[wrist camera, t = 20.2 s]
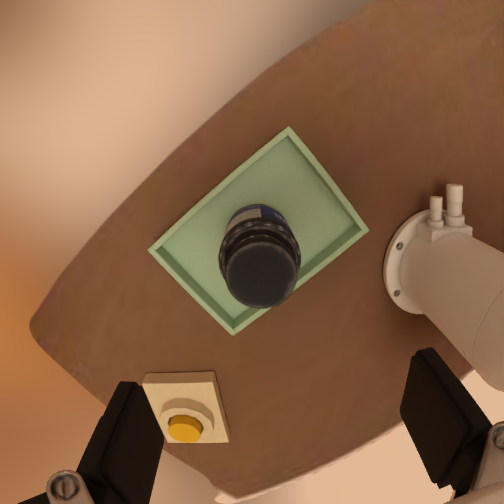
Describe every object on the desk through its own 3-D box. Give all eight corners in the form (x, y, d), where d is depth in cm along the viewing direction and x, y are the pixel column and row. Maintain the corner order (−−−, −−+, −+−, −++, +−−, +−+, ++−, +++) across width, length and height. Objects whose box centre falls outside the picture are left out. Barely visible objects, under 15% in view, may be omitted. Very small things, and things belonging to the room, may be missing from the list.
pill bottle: (299, 247, 31) (323, 296, 21) (243, 273, 32) (241, 333, 21) (271, 191, 29) (284, 213, 19) (214, 220, 30) (195, 257, 20)
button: (166, 413, 35) (164, 423, 33) (197, 413, 35) (196, 423, 33) (175, 433, 36) (173, 442, 34) (204, 433, 36) (203, 443, 34)
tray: (233, 322, 35) (232, 336, 32) (155, 242, 32) (147, 250, 29) (360, 223, 31) (369, 230, 29) (285, 128, 28) (289, 125, 26)
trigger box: (146, 372, 37) (137, 393, 33) (214, 370, 37) (211, 392, 33) (170, 431, 41) (165, 451, 37) (229, 431, 40) (228, 451, 37)
